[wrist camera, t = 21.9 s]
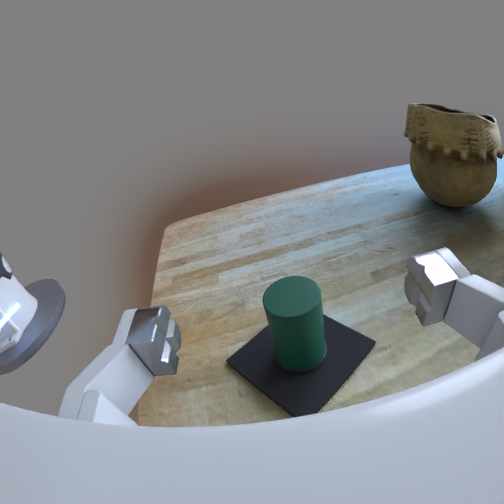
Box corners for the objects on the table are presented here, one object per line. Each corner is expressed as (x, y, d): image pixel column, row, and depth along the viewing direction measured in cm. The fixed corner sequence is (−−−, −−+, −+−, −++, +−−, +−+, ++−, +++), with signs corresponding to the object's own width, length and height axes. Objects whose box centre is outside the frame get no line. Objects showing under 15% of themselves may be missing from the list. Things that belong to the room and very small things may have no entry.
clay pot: (433, 173, 60) (431, 94, 49) (506, 202, 44) (514, 112, 33) (385, 200, 54) (379, 102, 43) (475, 242, 38) (489, 122, 27)
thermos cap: (303, 383, 27) (294, 329, 22) (265, 357, 31) (247, 300, 26) (337, 348, 30) (335, 288, 25) (299, 326, 34) (289, 267, 29)
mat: (304, 425, 24) (304, 423, 24) (226, 362, 32) (225, 360, 32) (375, 343, 29) (375, 341, 29) (296, 302, 38) (296, 299, 38)
